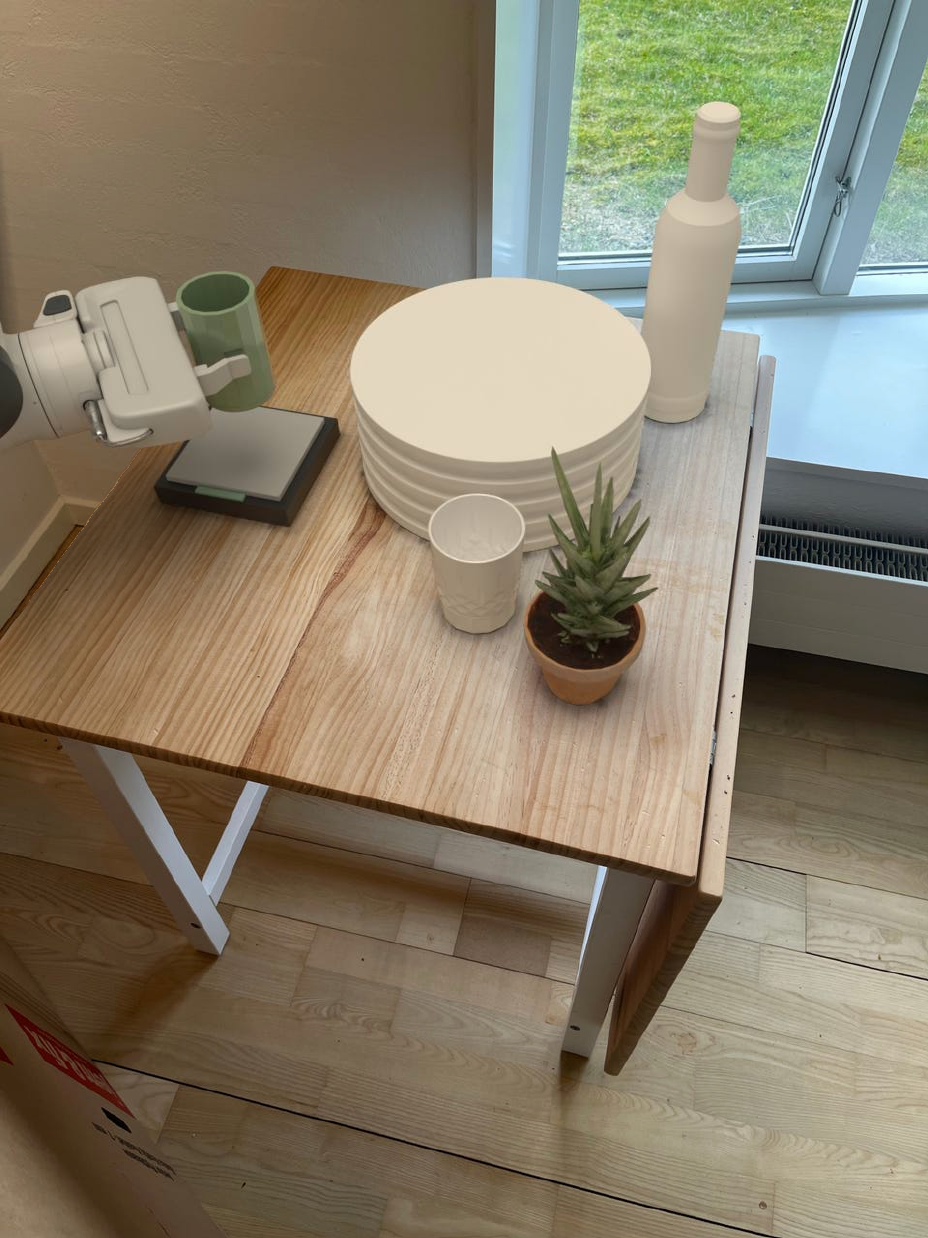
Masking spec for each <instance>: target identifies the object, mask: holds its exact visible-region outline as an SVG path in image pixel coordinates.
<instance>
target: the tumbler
mask: <svg viewBox="0 0 928 1238" xmlns="http://www.w3.org/2000/svg"><path fill="white" fill-rule="evenodd" d="M174 298H175V302H176V303H177V307H178V310H179V314H180V317H181V320H182V324H183V327H184V330H183V331H184V334H185V337H186V340H187V344H188V347H189V351H190V354H191V357H192V361H193V365H194V367H196V366H200V365H204V364H206V365H207V367H208V368H209V367H211V366H212V365H214V364H216V363H217V362H219V361H221V360H222V359H224V358H225V356H224V352H228V351H235V350H236V349H239V348H241V349H243V350H244V351H245V353H246V355H247V356H248V358H249V361H250V365H251V370H252V371H251V373H250V374H249V375H246V376H243V377H239V378H236V379H232V381H231V382H230V383H228V384H227V385H226V386H225V387H224V388H222V389H221V390H220V391H219V392H218V393H216V394H213V395H209V396H206V397H205V399H206V402H207V405H208V406H209V405H210V406H212V407H213V408H215V409H217V410H220V411H224V412H244V411H249V410H252V409H255V408H257V407H259V406H264V404H266V403H267V402H268V401H270V399H271V398H272V397H273V396H274V394H275V392H276V388H277V385H276V376H275V372H274V368H273V363H272V358H271V354H270V349H269V344H268V339H267V336H266V331H265V326H264V322H263V317H262V313H261V309H260V308H261V307H260V303H259V299H258V295H257V290H256V286H255V284H254V282H253V281H252V279H251V278H250V277H248V276H247V275H244V274H242V273H241V272H236V271H230V270H215V271H209V272H204V273H202V274H197V275H196V276H194V277H192V278H190V279H188V280H186V281H184V282H183V284H182V285H181V286H180V287H179V288H178V289H177V290H176V295H175V297H174Z"/></svg>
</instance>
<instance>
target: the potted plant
mask: <svg viewBox="0 0 928 1238" xmlns="http://www.w3.org/2000/svg"><path fill="white" fill-rule="evenodd" d="M551 456H552V460H553V464H554V470H555V474H556V478H557V482H558V485H559V489H560V492H561V496H562V499H563V503H564V507H565V510H566V512H567V515H568V517H569V520H570V523H571V526H572V529H573V532H574V535H575V538H574V539H575V540H576V543H577V545H576V544H575V543H574V542H572V540H569V539H568V538H567V536H566V535H565V534H564V533H563V532H562V530H561V529H560V528H559V526H558V525H557V524H556V522H555V521H554V519H553V518H552V517H551V515H550V514H549V513H548V518H549V522H550V524H551V527H552V530H553V533H554V535H555V537H556V539H557V541H558V543H559V545H558V546H559V547H560V549H561V551H562V553H563V555H564V557H565V559H566V560H565V564H566V568H565V567H564V565H563V564H562V563H561V561H560V559H558V557H557V556H556V554H555V552H554V551H553V549H552V547H550V546H549V547H547V548H546V549H547V550H548V553H549V554H548V555H550V558H551V561H552V563H553V566H554V567H555V570H556V571H557V574H558V575H555V574H552V573H549V572H545V571H543V570H542V571H541V574H542V576H543V578H544V579H546V580H547V581H548V582H549V584H547V583H544V582H542V581H540V580H538V579H534V585H536V587H537V588H539V589H540V590H539V592H537V593H535V595H534V596H533V597H532V599H531V600H530V602H529V603H528V605H527V607H526V610H525V612H524V616H523V631H524V637H525V638H524V639H525V643H526V646H527V648H528V651H529V652H530V654H531V656H532V658H533V659H534V661H535V662H536V663H537V664H538V665H539V667H540V669H541V671H542V674H543V676H544V679H545V682H546V685H547V687H548V689H549V690H550V691H551V693H553V695H554V696H556V697H557V698H558V699H559V700H561V701H563V702H566V703H568V704H571V705H576V706H578V705H579V706H583V705H590V704H592V703H594V702H596V701H599V700H601V699H602V698H605V697H606V696H607V695H608V694H609V693H610V692H611V691H612V689H613V688H614V686H615V685H616V683H617V682H618V681H619V679H620V678H621V677H622V675H623V674H624V673H626V672H627V671H628V670H629V669H630V668H631V667H632V666H633V665H634V663H635V662H636V661H637V660H638V658H639V656H640V654H641V653H642V650H643V647H644V643H645V638H646V632H647V628H646V627H647V626H646V618H645V614H644V610H643V607H641V605H640V604H639V603H638V602H641V601H642V600H644V599H645V598H647V597H649V596H650V595H651V594H653V593H654V592H656V591H657V590H659V587H658V586H656V587H655V586H654V587H652V588H649V589H645V590H642V591H639V592H636V590H637V589H638V588H640V587H641V586H643V585H644V584H645V583H646V582H648V581H650V579H651V577H652V574H651V573H648V574H644V575H636V576H624V573H625V571H626V570H627V568H628V565H629V563H630V561H631V559H632V556H633V555H634V553H635V551H636V550H637V548H638V546H639V545H640V543H641V541H642V539H643V538H644V536H645V534H646V532H647V530H648V528H649V526H650V523H651V516H650V515H648V517H647V518H646V519H645V520H644V522H643V523H642V524H641V525H640V526H639V528H637V530H636V531H635V533H633V535H632V536H631V537H630V538H629V539H628V537H629V535H630V533H631V532H632V529H633V527H634V525H635V522H636V521H637V518H638V515H639V512H640V510H641V506H642V501H643V498H640V499H639V500H638V501H637V502H636V503H635V504H634V505H633V506H632V508H631V509H630V511H629V513H628V514H627V516H626V517H625V518H624V520H623V521H622V522H621V517H622V516H621V515H618V517H617V521H616V523H615V525H614V528H613V530H612V525H613V524H612V523H613V514H614V512H613V498H614V489H613V476H611V477H610V480H609V483H608V486H607V489H606V492H605V496H604V499H603V502H602V506H601V492H602V470H601V462H600V463H599V466H598V471H597V475H596V481H595V491H594V498H593V504H591V509H590V518H589V529H588V530H587V527H586V524H585V522H584V520H583V518H582V516H581V514H580V512H579V509H578V507H577V504H576V501H575V499H574V496H573V494H572V491H571V489H570V486H569V484H568V481H567V479H566V476H565V474H564V472H563V469H562V467H561V465H560V462H559V459H558V456H557V454H556V451H555V450H554V447H553V446H552V451H551ZM620 522H621V524H620ZM612 531H613V532H612Z"/></svg>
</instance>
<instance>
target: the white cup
mask: <svg viewBox="0 0 928 1238" xmlns="http://www.w3.org/2000/svg"><path fill="white" fill-rule="evenodd" d="M428 533H429V540H430V541H429V540H428V541H429V546H430V554H431V559H432V568H433V574H434V579H435V585H436V590H437V594H438V598H439V605H440V609H441V612H442V615H443V617H444V619H445V620H446V621H447V622H448V623H449V624H450V625H452V626H453V627H454V628H455V629H457V630H458V631H462V632H467V633H470V634H484V633H485V634H488V633H491V632H494V631H496V630H497V629H500V628H502V627H505V625H506V624H507V623H508V622H509V621H510V620H511V618H512V617H513V616H514V615H515V610H516V605H517V596H518V591H519V590H520V589H519V588H520V581H521V580H520V579H521V572H522V566H523V555H524V552H523V545H524V535H525V523H524V519H523V517H522V515H521V513H520V512H519V510H518V509H517V508H516V507H515V506H514V505H512V504H511V503H510V502H508V501H506V500H505V499H502V498H500V497H497V496H494V495H489V494H480V493H475V494H466V495H461V496H458V497H455V498H452V499H450V500H448V501H446V502H445V503H443V504H442V505H441V506H439V507H438V508H437V509H436V511H435V512H434V513H433V515H432V516H431V518H430V521H429V525H428Z"/></svg>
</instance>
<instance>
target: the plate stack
mask: <svg viewBox="0 0 928 1238" xmlns="http://www.w3.org/2000/svg"><path fill="white" fill-rule="evenodd" d="M650 378H651V360H650V355H649V351H648V348H647V346H646V344H645V342H644V340H643V338H642V336H641V332H640V331H639V330H638V329H637V327H636V326H635V325H634V324H633V323H632V322H631V321H630V320H629V319H628V318H627V317H626V316H625V315H624V314H622V313H621V312H620V311H619V310H617V309H616V308H614V307H613V306H612V305H611V304H609V303H607V302H605V301H604V300H602V299H600V298H598V297H596V296H594V295H591V294H590V293H587V292H585V291H582V290H580V289H577V288H574V287H571V286H567V285H564V284H560V283H557V282H551V281H547V280H541V279H536V278H535V279H534V278H527V277H526V278H525V277H512V276H511V277H509V276H496V277H494V276H493V277H491V276H490V277H480V278H471V279H464V280H458V281H452V282H448V283H443V284H440V285H437V286H434V287H430V288H428V289H425V290H422V291H420V292H416V293H415V294H412V295H410V296H408V297H406V298H404V299H402V300H401V301H399V302H397V303H395V304H394V305H391V307H389V308H387V309H386V310H385V311H384V312H382V313H381V314H380V315H379V316H377V317H376V318H375V319H374V320H373V321H372V322H371V323H370V324H369V325H368V326H367V327H366V329H365V330H364V331H363V332H362V334H361V336H360V337H359V338H358V340H357V342H356V344H355V346H354V349H353V351H352V355H351V359H350V363H349V379H350V385H351V391H352V398H353V405H354V413H355V417H356V426H357V433H358V439H359V447H360V453H361V454H360V455H361V460H362V467H363V468H362V469H363V473H364V478H365V481H366V482H365V483H366V485H367V487H368V489H369V492H370V493H371V495H372V497H373V498H374V500H375V501H376V503H377V504H378V506H379V507H380V508H381V509H382V510H383V511H384V513H386V514H387V515H388V516H389V517H390V518H391V519H392V520H393V521H395V522H396V523H397V524H398V525H400V526H401V527H403V528H404V529H405V530H407V531H409V532H411V533H413V534H414V535H416V536H419V537H420V538H422V539H424V540H427V541H429V542H430V540H429V533H428V525H429V521H430V518H431V516H432V515H433V513H434V512H435V511H436V509H437V508H438V507H439V506H441V505H442V504H443V503H445V502H446V501H448V500H450V499H452V498H455V497H458V496H461V495H466V494H475V493H480V494H489V495H494V496H497V497H500V498H502V499H505V500H506V501H508V502H510V503H511V504H512V505H514V506H515V507H516V508H517V509H518V510H519V512H520V513H521V515H522V517H523V519H524V523H525V535H524V545H523V553H528V552H534V551H540V550H543V549H548V548H547V547H549V546H550V548H552V547H555V546H560V545H559V543H558V541H557V539H556V537H555V535H554V533H553V530H552V527H551V524H550V522H549V518H548V513H549V514H550V515H551V517H552V518H553V519H554V521H555V522H556V524H557V525H558V526H559V528H560V529H561V530H562V532H563V533H564V534H565V535H566V536H567V538H568V539H569V540H570V541H572V540H574V539H576V538H575V535H574V532H573V529H572V526H571V523H570V520H569V517H568V515H567V512H566V510H565V507H564V503H563V499H562V496H561V492H560V489H559V485H558V482H557V478H556V474H555V470H554V464H553V460H552V456H551V451H552V446H553V447H554V450H555V451H556V454H557V456H558V459H559V462H560V465H561V467H562V469H563V472H564V474H565V476H566V479H567V481H568V484H569V486H570V489H571V491H572V494H573V496H574V499H575V501H576V504H577V507H578V509H579V512H580V514H581V516H582V518H583V520H584V522H585V524H586V527H587V530H588V529H589V518H590V509H591V504H593V498H594V491H595V481H596V475H597V471H598V466H599V463H600V462H601V470H602V492H601V506H602V502H603V499H604V496H605V492H606V489H607V486H608V483H609V480H610V477H611V476H613V489H614V498H613V513H615V512H616V511H617V510H618V508H619V507H620V506H621V505H622V504H623V502H624V501H625V499H626V498H627V496H628V494H629V493H630V491H631V489H632V486H633V484H634V481H635V478H636V473H637V468H638V462H639V461H638V460H639V454H640V449H641V441H642V435H643V430H644V429H643V428H644V422H645V411H646V404H647V397H648V390H649V385H650Z"/></svg>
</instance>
